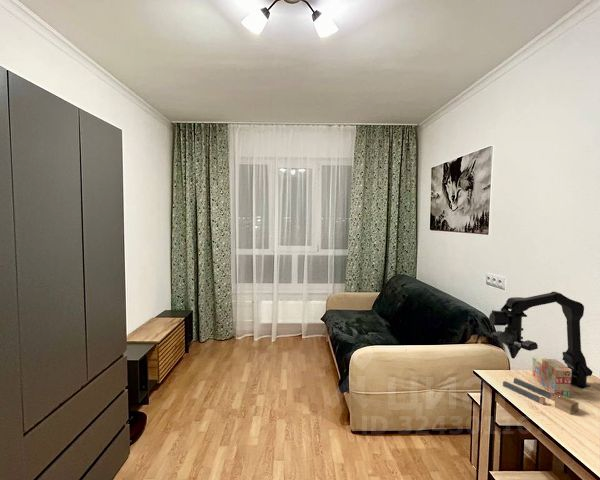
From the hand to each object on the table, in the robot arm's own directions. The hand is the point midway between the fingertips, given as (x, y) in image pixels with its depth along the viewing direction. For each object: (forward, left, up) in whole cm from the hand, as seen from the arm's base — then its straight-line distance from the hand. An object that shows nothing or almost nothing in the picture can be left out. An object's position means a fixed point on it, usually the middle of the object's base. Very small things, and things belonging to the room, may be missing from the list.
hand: (513, 358), depth 166 cm
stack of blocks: (-14, +9, -12) cm, 20 cm away
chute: (+2, +9, -12) cm, 15 cm away
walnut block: (+1, +24, -12) cm, 27 cm away
